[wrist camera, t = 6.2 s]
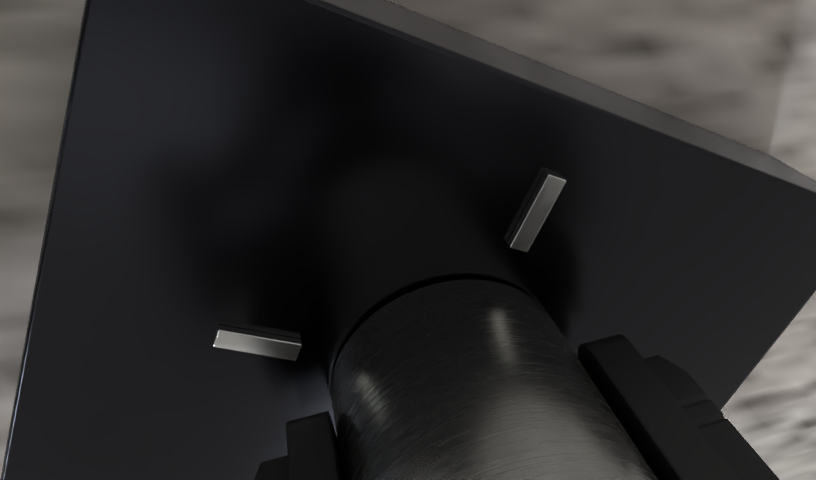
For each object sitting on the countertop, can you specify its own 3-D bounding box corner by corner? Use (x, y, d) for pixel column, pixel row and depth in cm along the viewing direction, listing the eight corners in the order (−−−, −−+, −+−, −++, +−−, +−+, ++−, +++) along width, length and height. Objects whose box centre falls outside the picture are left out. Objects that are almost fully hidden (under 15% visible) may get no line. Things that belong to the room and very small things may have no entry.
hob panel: (33, 418, 14) (-14, 546, 12) (136, -101, 10) (96, -84, 7) (549, 477, 19) (598, 575, 17) (771, 155, 15) (884, 219, 12)
